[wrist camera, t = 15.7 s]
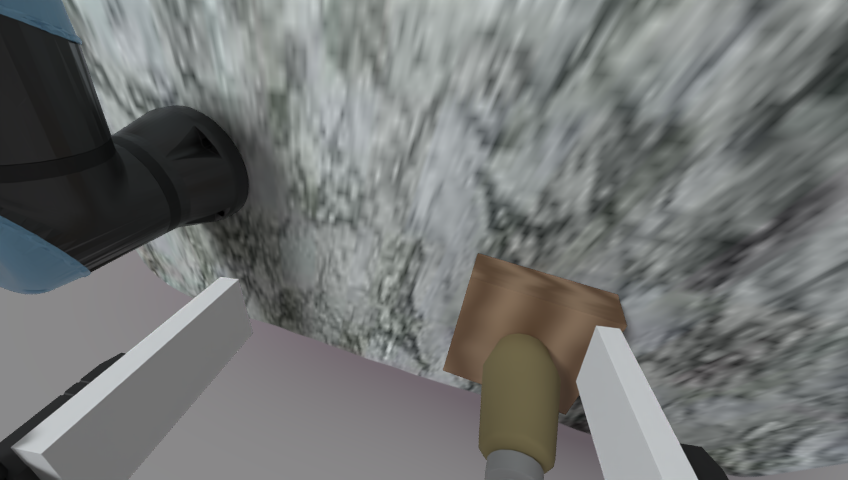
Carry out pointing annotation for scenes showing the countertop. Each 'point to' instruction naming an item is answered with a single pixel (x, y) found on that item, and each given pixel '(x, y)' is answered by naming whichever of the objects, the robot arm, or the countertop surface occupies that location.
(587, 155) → the countertop surface
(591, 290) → the walnut plinth
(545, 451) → the squeeze bottle
